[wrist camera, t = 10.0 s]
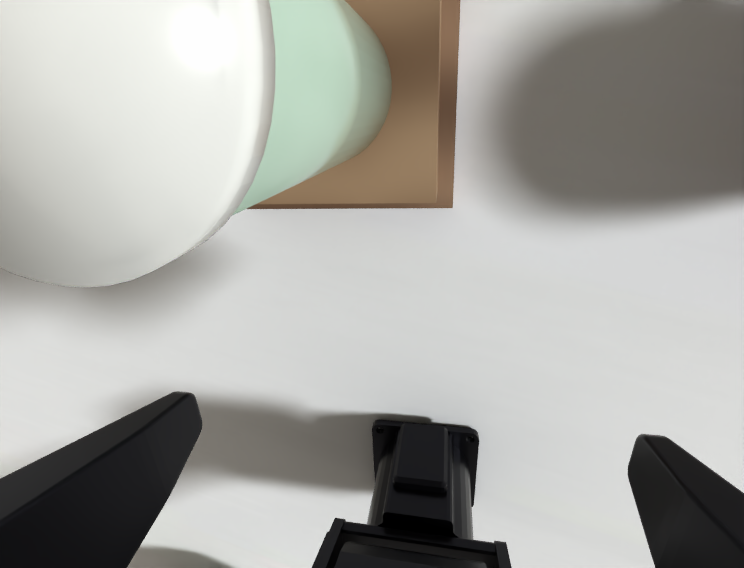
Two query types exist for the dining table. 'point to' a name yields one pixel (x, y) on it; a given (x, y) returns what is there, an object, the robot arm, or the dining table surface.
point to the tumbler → (168, 122)
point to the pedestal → (399, 118)
